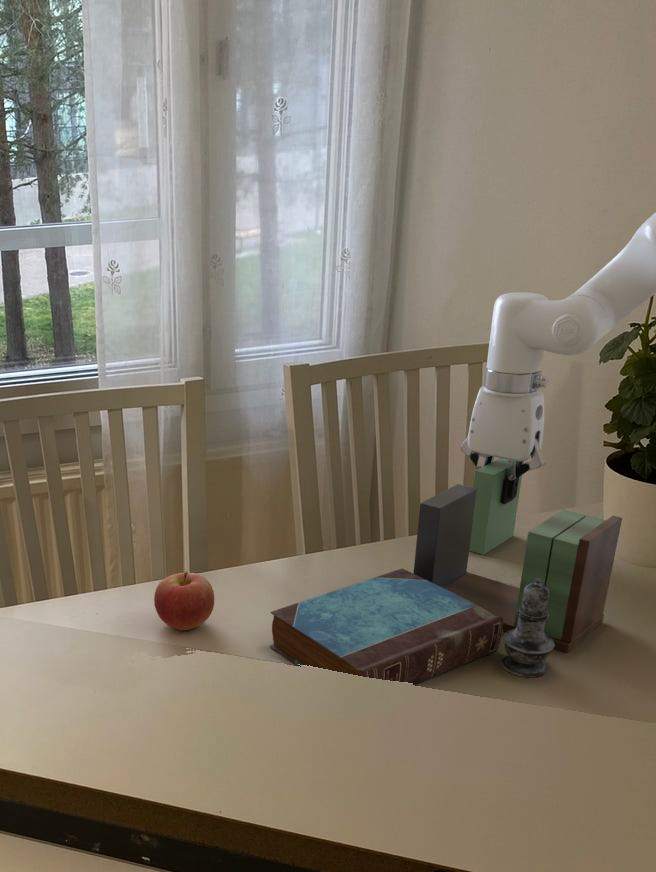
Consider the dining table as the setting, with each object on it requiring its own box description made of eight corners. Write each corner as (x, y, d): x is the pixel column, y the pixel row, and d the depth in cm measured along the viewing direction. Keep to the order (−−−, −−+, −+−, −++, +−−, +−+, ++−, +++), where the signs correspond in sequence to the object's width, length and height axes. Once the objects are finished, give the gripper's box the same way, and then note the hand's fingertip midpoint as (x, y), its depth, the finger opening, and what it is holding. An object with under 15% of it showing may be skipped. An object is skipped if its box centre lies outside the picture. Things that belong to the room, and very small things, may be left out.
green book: (495, 531, 149) (506, 454, 143) (513, 536, 147) (524, 458, 141) (465, 549, 142) (475, 470, 137) (483, 555, 140) (493, 474, 135)
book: (362, 709, 103) (365, 672, 101) (267, 645, 117) (268, 611, 115) (499, 652, 114) (504, 617, 112) (397, 599, 127) (400, 567, 125)
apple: (225, 631, 120) (225, 577, 117) (169, 644, 118) (167, 588, 114) (200, 606, 127) (199, 554, 124) (147, 617, 124) (145, 564, 121)
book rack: (439, 570, 136) (450, 475, 129) (602, 622, 120) (624, 516, 114) (399, 595, 129) (408, 495, 122) (567, 653, 113) (587, 542, 107)
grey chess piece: (528, 650, 114) (543, 563, 109) (560, 673, 109) (577, 583, 104) (488, 658, 112) (501, 571, 107) (519, 682, 107) (534, 592, 102)
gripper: (577, 384, 131) (557, 504, 139) (472, 368, 141) (459, 481, 149) (555, 395, 126) (535, 518, 134) (448, 377, 136) (435, 493, 144)
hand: (495, 497), depth 141 cm, fingers closed on green book, 3 cm apart
